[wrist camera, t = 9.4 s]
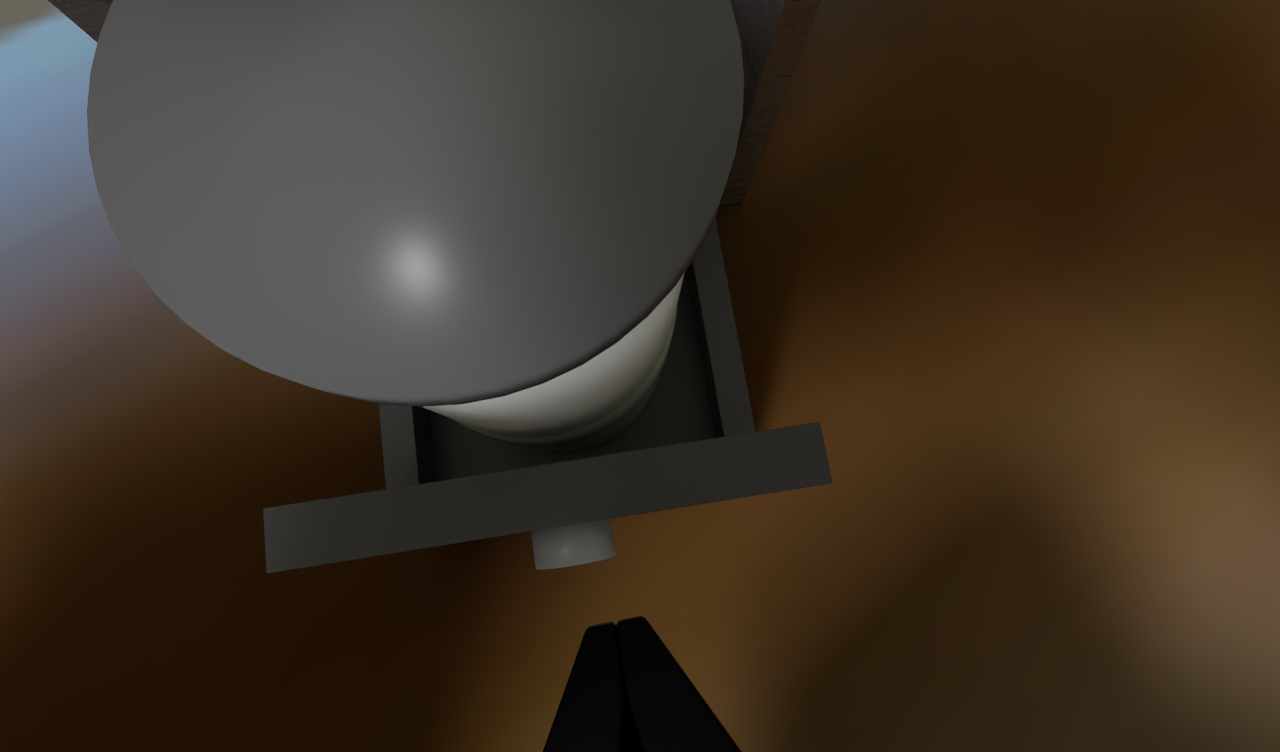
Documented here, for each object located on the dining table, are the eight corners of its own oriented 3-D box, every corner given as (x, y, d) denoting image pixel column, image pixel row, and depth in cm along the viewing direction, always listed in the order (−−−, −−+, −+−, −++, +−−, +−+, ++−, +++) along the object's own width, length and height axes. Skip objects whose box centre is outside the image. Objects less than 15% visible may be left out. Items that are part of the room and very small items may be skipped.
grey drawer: (764, 515, 18) (867, 529, 10) (414, 571, 18) (242, 631, 10) (705, 199, 20) (755, 4, 12) (384, 244, 19) (218, 72, 12)
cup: (713, 372, 18) (877, 133, 6) (537, 506, 17) (318, 545, 5) (584, 209, 19) (497, -293, 7) (411, 331, 18) (-32, 16, 6)
